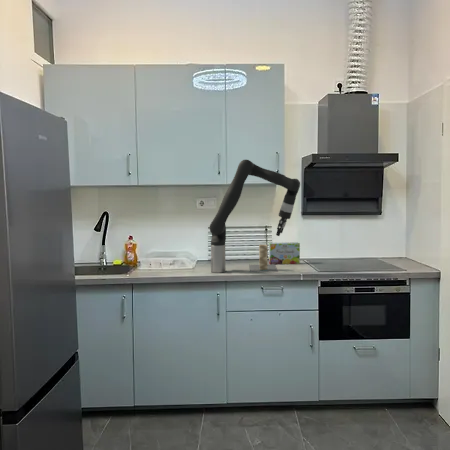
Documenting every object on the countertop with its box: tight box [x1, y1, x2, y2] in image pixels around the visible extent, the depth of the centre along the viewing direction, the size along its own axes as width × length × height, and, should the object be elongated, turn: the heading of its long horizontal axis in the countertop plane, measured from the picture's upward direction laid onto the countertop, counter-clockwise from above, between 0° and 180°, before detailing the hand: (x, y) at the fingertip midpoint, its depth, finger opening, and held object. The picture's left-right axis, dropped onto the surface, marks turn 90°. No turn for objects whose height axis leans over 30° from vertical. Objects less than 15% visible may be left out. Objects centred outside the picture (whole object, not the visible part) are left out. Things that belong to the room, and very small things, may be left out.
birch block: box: [258, 244, 268, 271], centre depth 276 cm, size 5×5×16 cm
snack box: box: [268, 241, 301, 265], centre depth 303 cm, size 21×6×15 cm, turn 94°
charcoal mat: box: [248, 263, 279, 273], centre depth 283 cm, size 18×28×1 cm, turn 177°
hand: (279, 234), depth 270 cm, fingers open, 8 cm apart
